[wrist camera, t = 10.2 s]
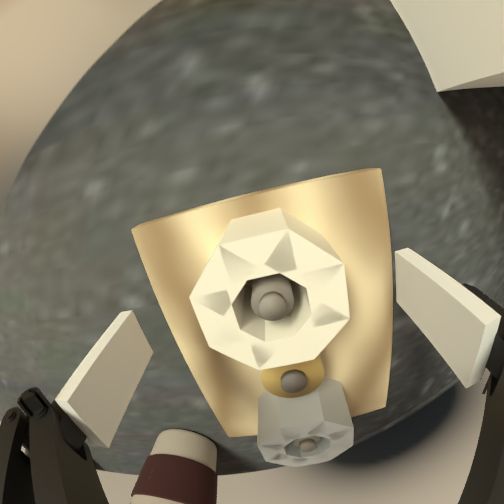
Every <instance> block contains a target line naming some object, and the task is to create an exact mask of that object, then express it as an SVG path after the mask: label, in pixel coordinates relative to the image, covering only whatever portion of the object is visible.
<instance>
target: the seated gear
mask: <svg viewBox="0 0 504 504" xmlns="http://www.w3.org/2000/svg"><path fill="white" fill-rule="evenodd" d="M310 436H320V442H319V443H318V444H317V445H316V448H315V449H314V450H313V451H310V452H302V451H300V448H297V447H295V446H294V440H295V439H299V438H305V437H310ZM353 437H354V427H353V423H352V419H351V416H350V412H349V409H348V405H347V402H346V399H345V395H344V392H343V388H342V385H341V382H339V381H336V380H333V379H331V378H328V377H326V376H324V379H323V381H322V383H321V384H320V386H319V387H318V388H316V389H315V390H314V391H312V392H311V393H309V394H307V395H304V396H301V397H296V398H283V397H278V396H275V395H273V394H271V393H269V392H268V391H266V392H265V393H263V394H262V395H261V396H260V397H259V398H258V437H257V446H258V448H259V450H260V452H261V453H262V455H263V457H264V459H265V461H267V462H272V463H276V464H281V465H286V466H291V467H299V466H305V465H311V464H317V463H321V462H326V461H330V460H331V459H333V458H334V457H336V456H338V455H339V454H341V453H342V452H344V451H345V450H347V449H348V448H350V447H351V446H353Z"/></svg>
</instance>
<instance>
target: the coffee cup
mask: <svg viewBox="0 0 504 504" xmlns="http://www.w3.org/2000/svg"><path fill="white" fill-rule="evenodd" d="M216 459H217V448H216V446H215V444H214V443H213V442H212V441H211V440H209V439H208V438H206V437H204V436H202V435H200V434H198V433H195V432H192V431H188V430H182V429H169V430H165V431H163V432H161V433H160V434H159V436H158V438H157V440H156V442H155V445H154V447H153V449H152V452H151V454H150V456H148V457H147V459H146V461H145V463H144V466H143V468H142V470H141V473H140V475H139V477H138V480H137V482H136V484H135V487H134V489H133V491H132V494H131V496H132V499H131V502H130V504H216V499H217V474H216Z"/></svg>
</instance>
